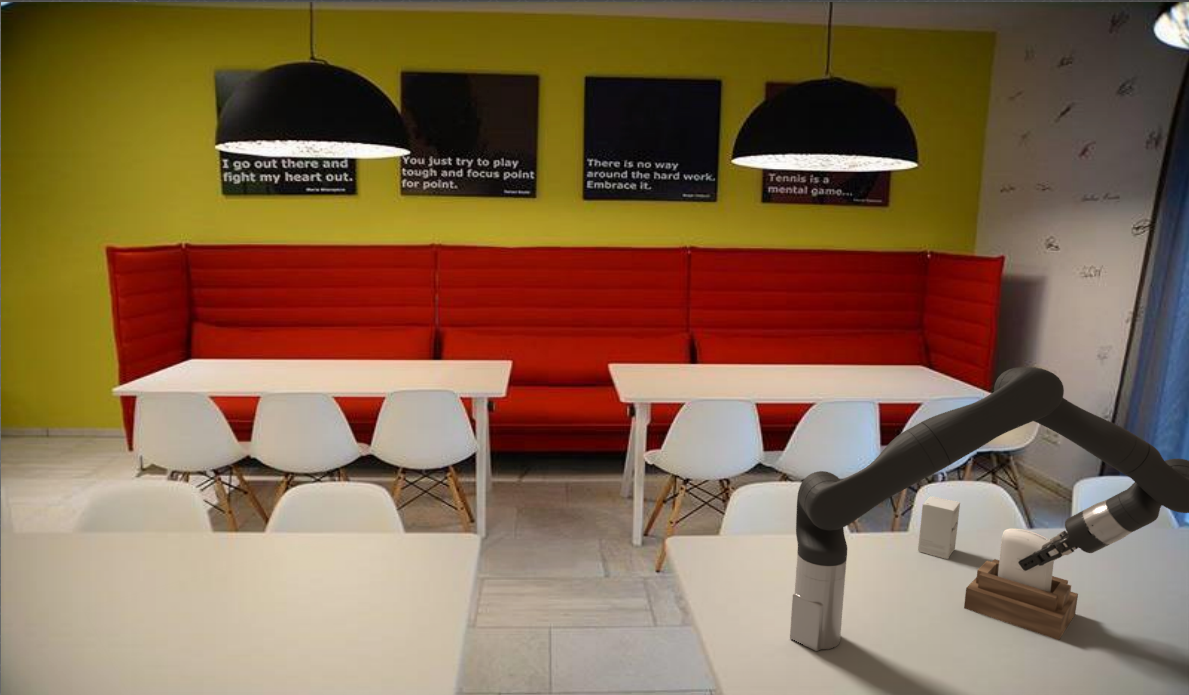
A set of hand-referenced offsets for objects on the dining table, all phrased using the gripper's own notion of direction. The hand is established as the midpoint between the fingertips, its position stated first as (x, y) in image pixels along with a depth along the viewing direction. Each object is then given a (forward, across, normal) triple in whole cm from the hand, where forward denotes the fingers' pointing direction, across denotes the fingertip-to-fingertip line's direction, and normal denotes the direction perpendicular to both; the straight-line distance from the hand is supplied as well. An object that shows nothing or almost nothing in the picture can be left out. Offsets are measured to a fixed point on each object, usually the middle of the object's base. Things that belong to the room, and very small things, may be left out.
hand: (1026, 562), depth 165 cm
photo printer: (+4, 0, +4) cm, 6 cm away
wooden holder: (+8, 0, +8) cm, 11 cm away
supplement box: (+26, -16, -10) cm, 32 cm away
